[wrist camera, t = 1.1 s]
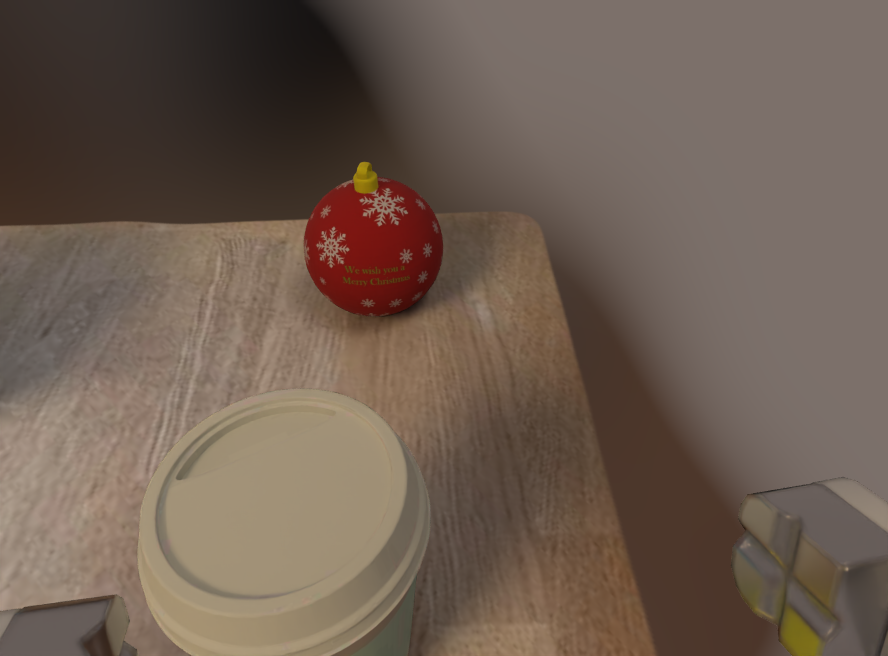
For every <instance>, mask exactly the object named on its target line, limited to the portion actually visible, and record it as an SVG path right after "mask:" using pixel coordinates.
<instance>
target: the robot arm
mask: <svg viewBox="0 0 888 656" xmlns="http://www.w3.org/2000/svg"><path fill="white" fill-rule="evenodd" d="M738 520H739V522H740V523H741V525H742V526H743V528H744V529H745V532H744V533H743V534H742V535H741V536H740V538H739V539H738V540H737V541H736V543H735V544H734V545H733V552H732V560H731V568H732V572H733V576H734V580H735V584H736V587H737V588H738V590H739V592H740V594H741V596H742V598H743V599H744V601H745V602H746V603H747V604H748V606H749V607H750V608H751V609H752V610H753V612H754V613H755V614H756V615H758V616H760V617H762V618H764V619H766V620H768V621H770V622H772V623H774V624H776V625H777V626H778V637H779V642H780V643H781V644H782V645H783V646H784V647H785V648H786V649H787V651H788V652H789V653H790V654H791V655H792V656H888V502H886V501H885V500H883V499H882V498H880V497H879V496H878V495H876V494H875V493H873V492H872V491H870V490H869V489H868V488H866V487H865V486H863V485H862V484H860V483H859V482H858V481H855V480H852V479H848V478H845V477H841V478H835V479H830V480H825V481H819V482H814V483H811V484H809V485H801V486H795V487H789V488H783V489H777V490H771V491H765V492H760V493H753V494H748V495H747V496H746V497H745V499H744V500H743V502H742V503H741V506H740V511H739V516H738ZM129 622H130V619H129V616H128V613H127V609H126V606H125V602H124V599H123V598H122V597H120V596H118V595H117V594H116V595H108V596H101V597H94V598H86V599H79V600H72V601H64V602H57V603H50V604H42V605H35V606H28V607H24V608H22V609H11V610H4V611H0V656H138V651H137V649H135V648H134V647H132V646H131V645H129V644H128V643H127V642H125V641H124V638H125V635H126V631H127V628H128V625H129Z"/></svg>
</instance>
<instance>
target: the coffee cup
mask: <svg viewBox="0 0 888 656" xmlns="http://www.w3.org/2000/svg"><path fill="white" fill-rule="evenodd" d="M430 523H431V510H430V501H429V495H428V491H427V487H426V484H425V481H424V478H423V476H422V474H421V472H420V469H419V466H418V464H417V462H416V460H415V458H414V456H413V454H412V453H411V451H410V450H409V448H408V447H407V445H406V444H405V443H404V442H403V440H402V439H401V438H400V437H399V436H398V435H397V434H396V433H395V432H394V431H393V430H392V428H391V427H390V426H389V424H388V423H387V422H386V421H385V420H384V419H383V418H382V417H381V416H380V415H379V414H377V413H376V412H375V411H374V410H373V409H371V408H370V407H368V406H367V405H365V404H363V403H361V402H359V401H357V400H356V399H353V398H351V397H348V396H345V395H342V394H339V393H336V392H331V391H326V390H319V389H304V388H298V389H284V390H277V391H271V392H267V393H262V394H258V395H255V396H252V397H249V398H246V399H243V400H240V401H238V402H236V403H233V404H231V405H229V406H227V407H225V408H223V409H221V410H219V411H217V412H215V413H214V414H212V415H211V416H209V417H207V418H206V419H204V420H203V421H202V422H200V423H199V424H197V425H196V426H195V427H194V428H192V429H191V430H190V431H189V432H188V433H186V434H185V435H184V436H183V437H182V438H181V439H180V440H179V441H178V442H177V443H176V444H175V445H174V446H173V447H172V449H171V450H170V451H169V452H168V454H167V455H166V456H165V458H164V459H163V460H162V462H161V463H160V464H159V466H158V468H157V469H156V471H155V473H154V475H153V476H152V479H151V481H150V483H149V485H148V487H147V490H146V493H145V496H144V498H143V503H142V507H141V512H140V522H139V541H138V558H137V560H138V570H139V576H140V581H141V584H142V587H143V590H144V594H145V598H146V601H147V604H148V606H149V609H150V611H151V613H152V615H153V617H154V619H155V620H156V622H157V624H158V625H159V627H160V628H161V629H162V631H163V632H164V633H165V634H166V635H167V636H168V637H169V638H170V639H171V640H172V641H173V642H174V643H175V644H176V645H177V646H178V647H180V648H181V649H182V650H184V651H185V652H187V653H188V654H190V655H192V656H408V654H409V645H410V637H411V627H412V617H413V607H414V597H415V588H416V578H417V572H418V570H419V568H420V566H421V563H422V560H423V558H424V555H425V551H426V548H427V544H428V539H429V533H430Z"/></svg>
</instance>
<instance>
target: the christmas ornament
mask: <svg viewBox="0 0 888 656" xmlns="http://www.w3.org/2000/svg"><path fill="white" fill-rule="evenodd" d="M304 255H305V261H306V265H307V268H308V271H309V273H310V276H311V278H312V280H313V281H314V283H315V285H316V286H317V287H318V289H319V290H320V291H321V293H322V294H323V295H324V296H325V297H326V298H327V299H329V300H330V301H331V302H332V303H334V304H335V305H337V306H338V307H340V308H342V309H344V310H346V311H349V312H351V313H354V314H358V315H363V316H386V315H391V314H394V313H397V312H400V311H402V310H405V309H407V308H408V307H410V306H412V305H413V304H415V303H416V302H417V301H418V300H420V299H421V298H422V297H423V296H424V295H425V294H426V293H427V291H428V290H429V289H430V287H431V286H432V284H433V283H434V281H435V279H436V277H437V275H438V272H439V270H440V266H441V262H442V256H443V240H442V233H441V229H440V226H439V223H438V220H437V218H436V216H435V214H434V212H433V211H432V209H431V208H430V206H429V205H428V204H427V202H426V201H425V200H424V199H423V198H422V197H421V196H420V195H419V194H418V193H417V192H415V191H414V190H412V189H411V188H409V187H408V186H406V185H404V184H402V183H400V182H397V181H394V180H391V179H387V178H381V177H377V175H376V173H375V172H373V171H372V165H371V164H370V163H368V162H362V163H360V164H359V166H358V168H357V173H356V174H355V175H354V177H353V180H351V181H348V182H345V183H343V184H341V185H339V186H338V187H336V188H334V189H333V190H331V191H330V192H329V193H328V194H327V195H326V196H325V197H323V198H322V200H321V201H320V202H319V203H318V205H317V206H316V207H315V209H314V210H313V212H312V214H311V216H310V218H309V221H308V224H307V226H306V231H305V236H304Z"/></svg>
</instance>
